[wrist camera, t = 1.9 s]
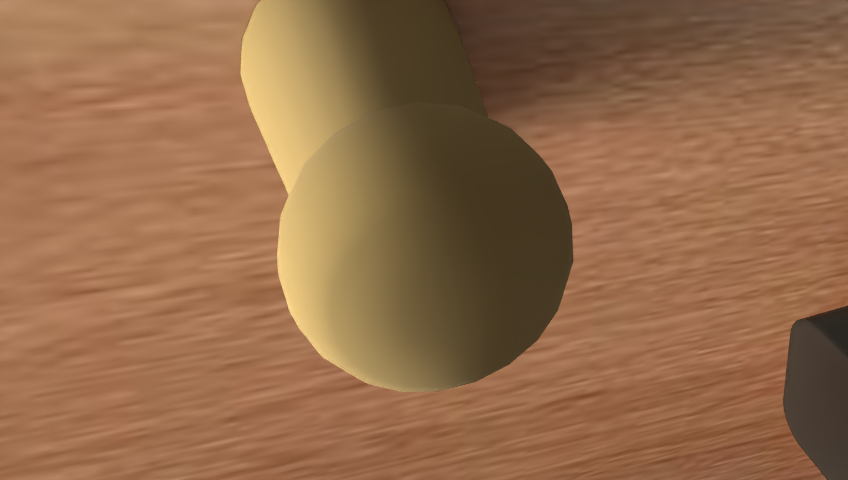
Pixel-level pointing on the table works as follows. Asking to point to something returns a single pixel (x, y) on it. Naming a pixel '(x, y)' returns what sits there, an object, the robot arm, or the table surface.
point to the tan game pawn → (401, 194)
